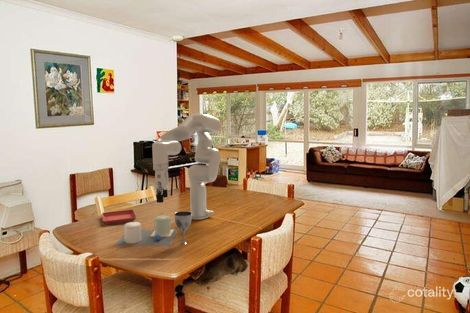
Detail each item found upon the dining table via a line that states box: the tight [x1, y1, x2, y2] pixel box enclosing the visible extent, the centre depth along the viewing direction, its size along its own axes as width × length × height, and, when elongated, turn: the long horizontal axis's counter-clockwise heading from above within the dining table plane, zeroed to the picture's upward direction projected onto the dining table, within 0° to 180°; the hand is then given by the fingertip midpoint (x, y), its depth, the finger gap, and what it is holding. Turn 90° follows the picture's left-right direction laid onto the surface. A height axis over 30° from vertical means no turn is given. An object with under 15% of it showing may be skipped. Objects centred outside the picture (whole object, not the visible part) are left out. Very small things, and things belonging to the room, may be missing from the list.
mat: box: [114, 228, 178, 246], centre depth 164 cm, size 26×21×1 cm
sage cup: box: [153, 214, 171, 235], centre depth 169 cm, size 8×8×8 cm
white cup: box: [123, 221, 142, 243], centre depth 159 cm, size 8×8×8 cm
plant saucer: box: [101, 209, 137, 225], centre depth 193 cm, size 18×18×3 cm
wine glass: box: [174, 210, 193, 245], centre depth 156 cm, size 8×8×15 cm
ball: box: [154, 234, 161, 241], centre depth 159 cm, size 3×3×3 cm
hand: (162, 199), depth 168 cm, fingers open, 9 cm apart
